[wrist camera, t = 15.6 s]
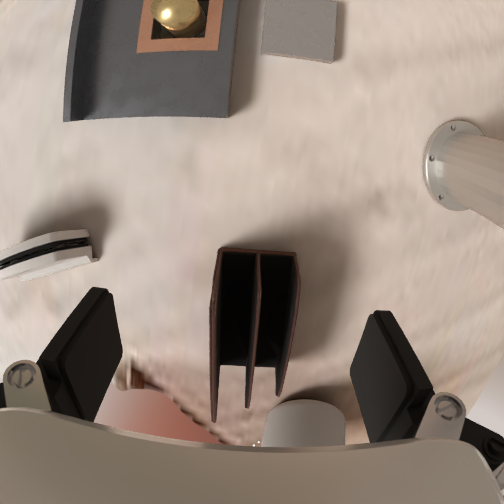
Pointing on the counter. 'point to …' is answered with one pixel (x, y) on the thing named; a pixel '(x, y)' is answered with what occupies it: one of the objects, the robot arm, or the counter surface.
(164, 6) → the barrel peg
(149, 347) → the counter surface
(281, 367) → the letter holder
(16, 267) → the grey rounded block
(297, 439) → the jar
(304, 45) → the gray square slab
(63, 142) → the counter surface
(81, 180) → the counter surface
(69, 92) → the plate
